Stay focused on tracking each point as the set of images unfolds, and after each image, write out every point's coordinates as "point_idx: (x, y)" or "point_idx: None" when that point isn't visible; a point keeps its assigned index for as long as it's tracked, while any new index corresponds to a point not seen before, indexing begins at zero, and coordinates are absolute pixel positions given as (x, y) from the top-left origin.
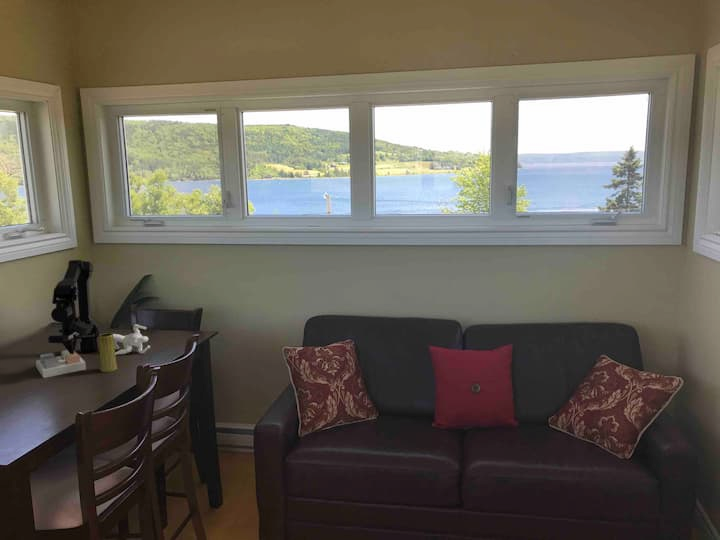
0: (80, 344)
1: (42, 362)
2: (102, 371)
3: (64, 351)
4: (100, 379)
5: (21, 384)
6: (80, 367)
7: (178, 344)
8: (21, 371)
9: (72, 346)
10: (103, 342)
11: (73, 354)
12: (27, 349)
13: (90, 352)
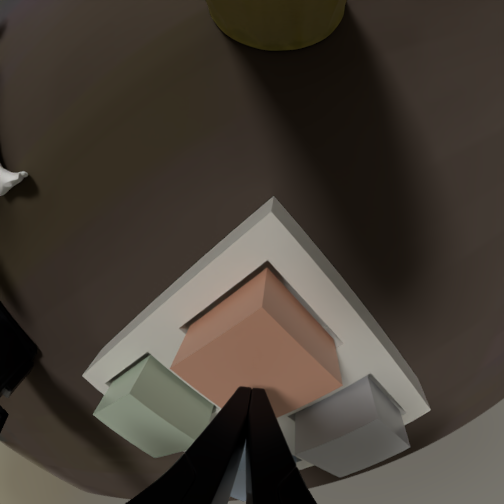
0: (13, 385)
1: None
2: (340, 19)
3: (153, 446)
4: (471, 8)
5: (467, 400)
6: (302, 236)
7: None
8: None
9: (280, 470)
10: None
11: (213, 384)
12: (97, 477)
13: (16, 324)
